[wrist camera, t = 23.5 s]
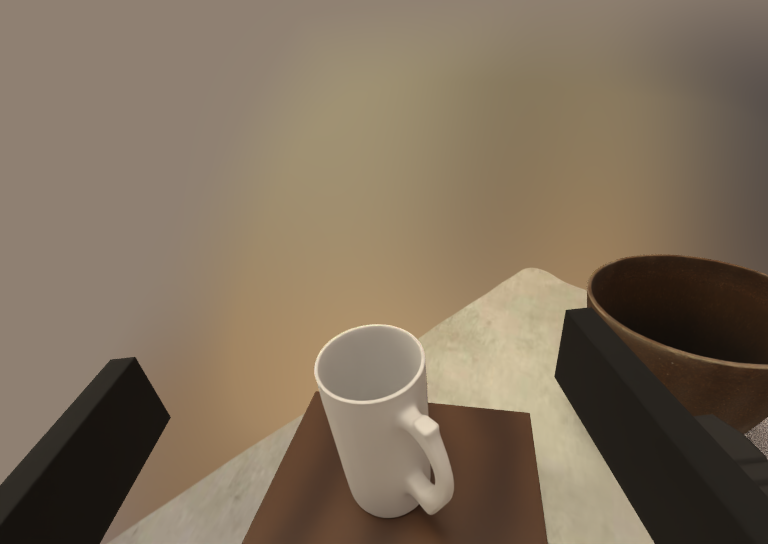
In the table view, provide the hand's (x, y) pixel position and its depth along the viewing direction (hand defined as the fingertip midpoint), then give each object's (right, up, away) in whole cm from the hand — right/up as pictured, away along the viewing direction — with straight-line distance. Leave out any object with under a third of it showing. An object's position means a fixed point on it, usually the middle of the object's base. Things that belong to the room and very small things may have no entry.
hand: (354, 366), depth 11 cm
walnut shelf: (+3, -19, +20) cm, 27 cm away
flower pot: (+27, -13, +25) cm, 39 cm away
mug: (+2, -13, +15) cm, 21 cm away
